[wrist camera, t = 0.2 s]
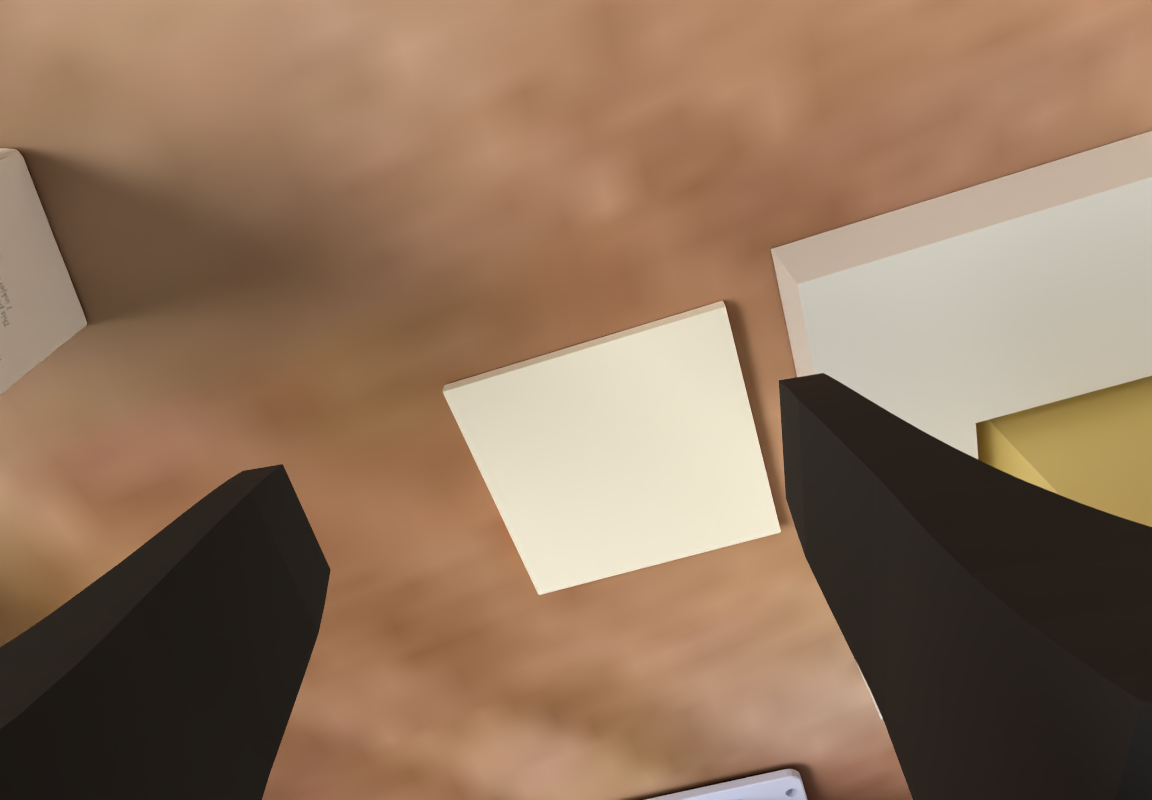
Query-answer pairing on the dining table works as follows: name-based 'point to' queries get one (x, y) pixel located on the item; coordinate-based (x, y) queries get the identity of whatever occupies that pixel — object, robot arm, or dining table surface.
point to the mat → (620, 449)
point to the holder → (984, 294)
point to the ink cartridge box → (30, 278)
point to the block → (1081, 448)
